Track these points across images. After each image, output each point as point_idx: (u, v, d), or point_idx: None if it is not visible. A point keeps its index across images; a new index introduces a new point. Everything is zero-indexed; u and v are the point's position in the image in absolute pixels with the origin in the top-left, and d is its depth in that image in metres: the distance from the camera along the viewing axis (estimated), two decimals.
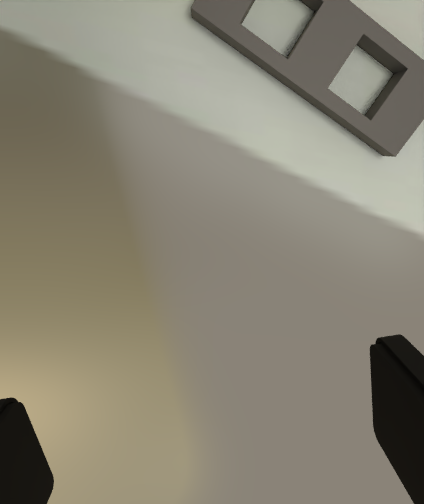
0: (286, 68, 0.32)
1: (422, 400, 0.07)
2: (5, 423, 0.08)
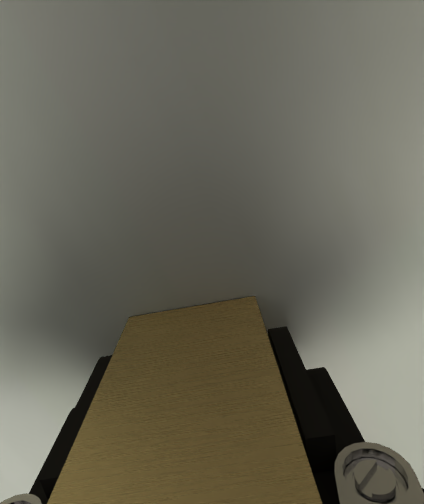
0: None
1: None
2: None
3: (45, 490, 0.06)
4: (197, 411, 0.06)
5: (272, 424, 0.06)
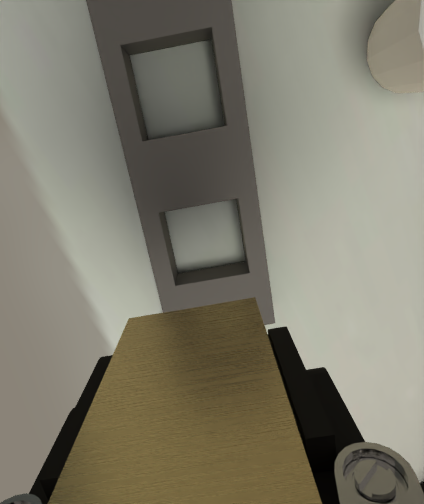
0: (132, 148, 0.22)
1: None
2: None
3: (45, 490, 0.06)
4: (196, 415, 0.06)
5: (273, 427, 0.06)
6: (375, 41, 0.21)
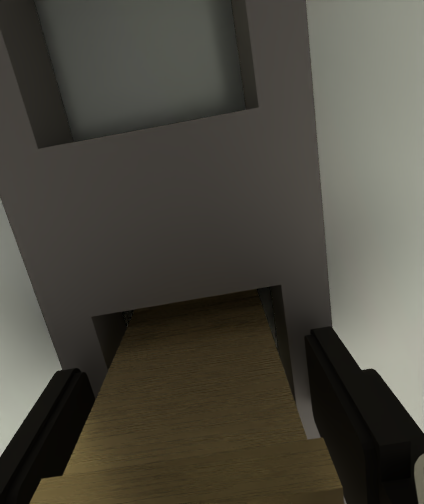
0: (14, 167, 0.08)
1: (332, 382, 0.07)
2: (76, 389, 0.09)
3: None
4: (202, 361, 0.08)
5: (263, 367, 0.07)
6: None
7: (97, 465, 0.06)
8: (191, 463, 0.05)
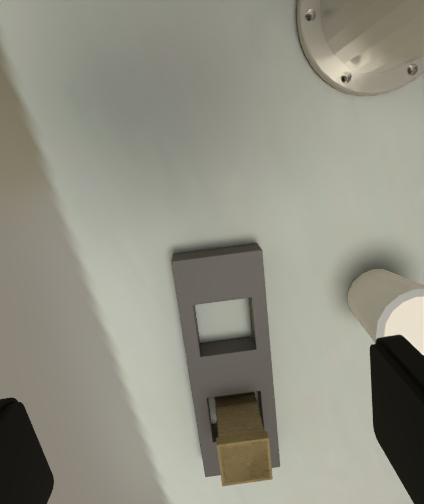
0: (193, 361, 0.33)
1: (422, 400, 0.07)
2: (5, 423, 0.08)
3: None
4: (240, 413, 0.32)
5: (255, 415, 0.32)
6: (352, 300, 0.33)
7: (224, 435, 0.30)
8: (243, 435, 0.30)
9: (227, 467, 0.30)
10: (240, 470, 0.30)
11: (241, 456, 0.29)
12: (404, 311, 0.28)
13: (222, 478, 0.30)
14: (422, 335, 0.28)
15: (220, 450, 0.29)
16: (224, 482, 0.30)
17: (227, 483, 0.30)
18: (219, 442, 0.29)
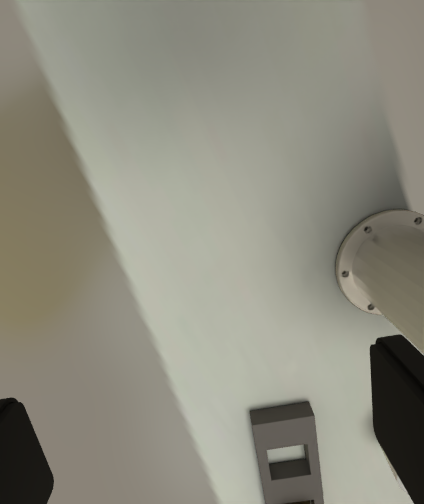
0: (266, 483, 0.47)
1: (422, 400, 0.07)
2: (5, 423, 0.08)
3: None
4: None
5: None
6: None
7: None
8: None
9: None
10: None
11: None
12: None
13: None
14: None
15: None
16: None
17: None
18: None
